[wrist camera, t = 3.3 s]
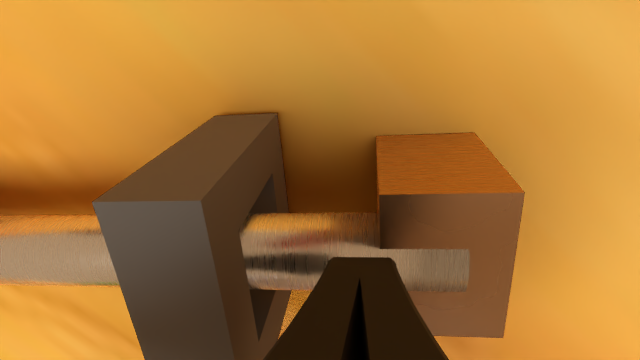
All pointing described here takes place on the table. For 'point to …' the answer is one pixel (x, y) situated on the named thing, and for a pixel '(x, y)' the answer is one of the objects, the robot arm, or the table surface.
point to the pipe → (343, 237)
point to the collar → (198, 241)
